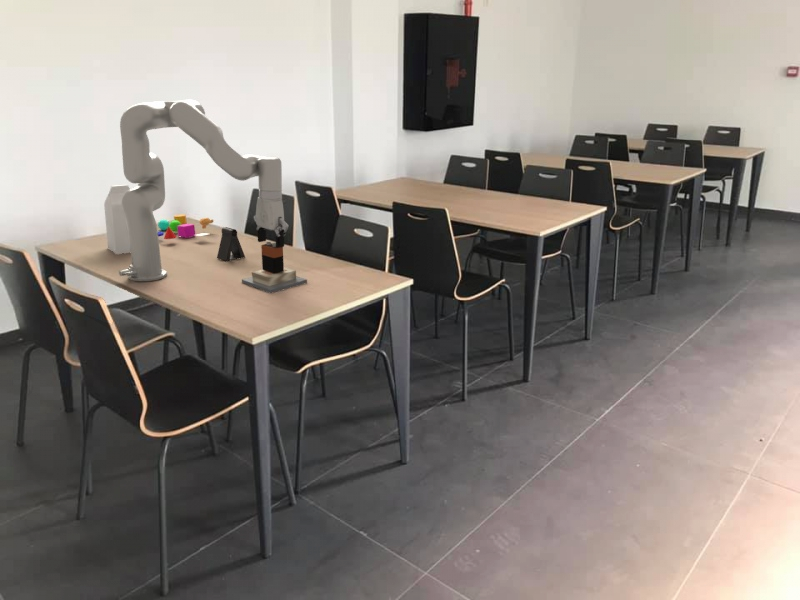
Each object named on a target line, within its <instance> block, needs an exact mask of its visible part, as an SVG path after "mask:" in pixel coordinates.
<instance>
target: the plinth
mask: <svg viewBox="0 0 800 600" xmlns="http://www.w3.org/2000/svg"><path fill="white" fill-rule="evenodd" d="M296 276H297V271H296V269H293V268H290V267H286V266H284V271H282V272H279V273H271V272H268V271H265V270H263V269H258V270H256V271H252V272H251V277H252V279H253V281H256V282H258V283H261V284H264V285H267V286H271V285H275V284H278V283H282V282H286V281H289V280H293V279H296Z"/></svg>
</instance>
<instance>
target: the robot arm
mask: <svg viewBox="0 0 800 600" xmlns="http://www.w3.org/2000/svg"><path fill="white" fill-rule="evenodd" d="M164 128H165V129H166V128H179V129H180V130H181V131H182V132H184V133H185V134H186V135H188V136H189V137H190V138H191V139H193V141H194V142H196V143H197V144H198V145H199V146H201V147H202V148H203V149H204V150H205V152H206V153H207V154H208V156H209V157H210V158H211V160H212V161H213V162H214V163H215V164H216V165H217V166H218V167H220V169H221V170H223V171H224V172H225V173H227V174H228V175H229V176H230V177H232V178H233V179H235V180H237V181H240V182H241V181H243V182H244V181H248V180H250V179H251V178H255V177H258V197H257V201H256V206H255V207H256V209H255V214H254V215H253V220H254V224H255V226H256V231H257V242H258V243H262V242H267V230H269V231H274V232H275V234H276V236H275V243H276V248H280V247H283V248H284V247H285V236H286V234H287V233H288V229H289V224H288V223H287V222H286V221H285V211H284V203H283V195H282V194H283V193H282V191H283V190H282V186H283V185H282V166H283V165H282V160H281V158H280V157H276V156H260V155H256V154H250V153H249V154H244V155H241V154H239V152H237V151H236V150H234V149H233V147H231V145H229V144H228V143H227V141H226V140H225V138H224V133H223V129H222V128H221V127H220V126H219V125H218V124H216V123H215V122H214V121H212V119H210V118H209V117H207V116H206V112H205V109H204V107H203V106H202V104H201V103H199V102H198V101H196V100H193V99H184V100H174V101H172V100H171V101H170V100H169V101H153V102H151V101H150V102H141V103H137V104H134V105H131V106H130V107H128V108H127V109H126V110H125V111H124V112H123V114H122V115H121V118H120V121H119V129H120V131H119V132H120V137H121V154H122V155H121V156H122V169H123V175H124V177H125V179H126V180H127V181H128V182H130V183H132V184H137V186H135V187H133V188H130V190H129V191H127V192H126V193H125V194H124V196H123V198H122V208H123V211H124V214H125V218H126V222H127V228H128V235H129V243H130V251H131V253H130V257H131V259H130V260H131V264H130V265H129V266H128V268H127V269H123V270H122V269H121V270H119V271H118V274H119V277H122V276H123V277H125V276H127V277H128V279H129V280H130V281H135V282H153V281H158V280H162V279H164V278H165V277H167V274H168V273H167V270H165V269H162V268H163V267H162V259H161V252H160V241H159V237H158V232H159V231H158V223H157V220H156V219H155V217H154V213H153V212H155V211H157V210H158V209H161V208H162V206H163V205H164V203H165V200H166V185H165V181H166V180H165V169H164V164H163V162H162V160H161V159H160V157H159V156H158V155H156V153H153V152H150V151H151V150H150V141H149V140H150V139H149V137H148V134H147V132H148V131H151V130H158V129H164Z"/></svg>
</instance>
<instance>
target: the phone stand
mask: <svg viewBox="0 0 800 600" xmlns="http://www.w3.org/2000/svg"><path fill="white" fill-rule="evenodd" d="M217 251H218V252H217V256H216V258H218V259H217V260H220V259H221V261H223V260H224V262H226V261H227V262H230V260H231V261H235V260H240V259H244V258H245V257H246V254H245V253H244V250H243V248H242V244H241V242H240V241H239V237H238V231H237V230H236V229H235V228H231V227H227V226H225V227H224V226H223V227H222V228H221V239H220V243H219V248H218V250H217ZM243 257H244V258H243ZM239 258H240V259H239Z"/></svg>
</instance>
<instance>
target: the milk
mask: <svg viewBox="0 0 800 600" xmlns="http://www.w3.org/2000/svg"><path fill="white" fill-rule="evenodd" d="M130 189H131V188H130V186H129V185H128V184H121V185H120V184H119V185H111V186H110V189H109V193H108V194H107V196H106V198H105V201H104V204H103V205H104V216H105V217H104V219H105V227H106V230H105V231H106V240H107V249H108V248H109V249H108V250H109V251H111V252H112V251H113V252H112V253H114V254H115V255H121V254H122V253H124V254H129V252H131V251H130V243H129V235H128V228H127V222H126V218H125V214H124V211H123V208H122V198H123V196H124V194H125V193H126V192H127V191H129V190H130ZM122 255H123V254H122Z"/></svg>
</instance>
